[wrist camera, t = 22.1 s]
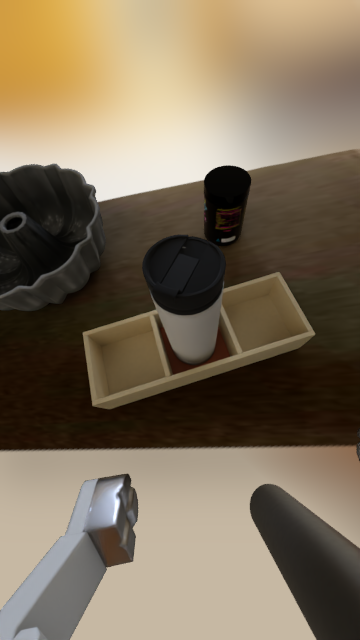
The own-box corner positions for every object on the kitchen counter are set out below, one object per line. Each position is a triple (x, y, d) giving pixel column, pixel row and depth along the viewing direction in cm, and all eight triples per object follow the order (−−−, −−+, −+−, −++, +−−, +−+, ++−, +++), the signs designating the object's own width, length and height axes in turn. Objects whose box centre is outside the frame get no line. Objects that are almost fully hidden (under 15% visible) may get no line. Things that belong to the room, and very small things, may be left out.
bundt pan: (32, 360, 38) (-22, 338, 29) (-45, 274, 46) (-105, 236, 37) (148, 250, 44) (134, 205, 35) (62, 193, 53) (33, 144, 44)
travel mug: (164, 357, 35) (121, 282, 17) (183, 319, 37) (163, 215, 19) (204, 375, 34) (205, 312, 15) (221, 333, 36) (239, 236, 18)
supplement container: (231, 215, 46) (239, 160, 37) (247, 240, 43) (259, 188, 34) (198, 226, 46) (197, 173, 36) (212, 252, 43) (214, 203, 34)
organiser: (299, 348, 35) (315, 334, 30) (109, 409, 34) (92, 406, 29) (269, 292, 39) (279, 271, 34) (98, 345, 38) (82, 332, 33)
